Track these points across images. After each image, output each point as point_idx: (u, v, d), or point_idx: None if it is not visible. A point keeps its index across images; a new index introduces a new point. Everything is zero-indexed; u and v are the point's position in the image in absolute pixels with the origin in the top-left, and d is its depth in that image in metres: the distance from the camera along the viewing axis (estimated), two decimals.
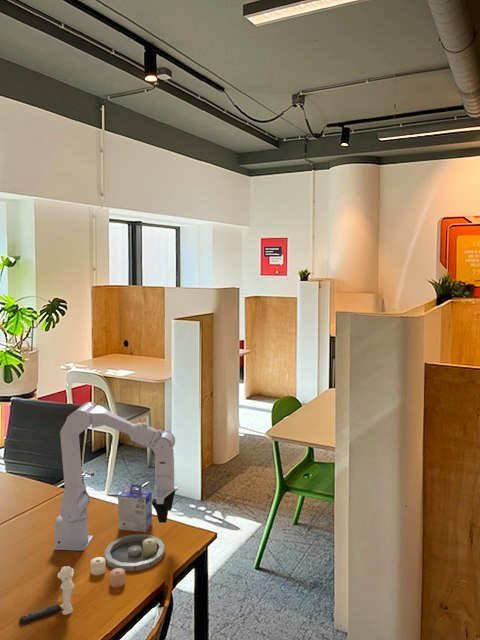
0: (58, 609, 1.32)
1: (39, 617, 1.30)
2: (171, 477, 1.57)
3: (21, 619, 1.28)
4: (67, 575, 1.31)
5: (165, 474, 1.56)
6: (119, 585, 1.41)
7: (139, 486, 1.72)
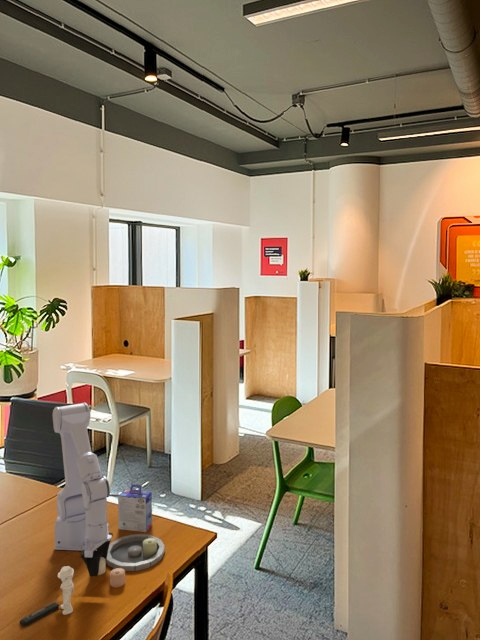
0: (57, 606, 1.33)
1: (40, 616, 1.30)
2: (103, 526, 1.45)
3: (23, 621, 1.27)
4: (67, 575, 1.31)
5: (87, 522, 1.44)
6: (119, 585, 1.41)
7: (139, 486, 1.72)
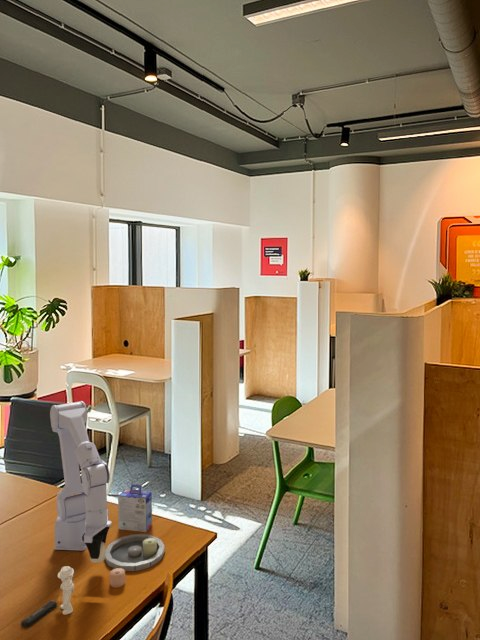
0: (55, 604, 1.34)
1: (41, 616, 1.30)
2: (103, 512, 1.44)
3: (26, 623, 1.27)
4: (67, 575, 1.31)
5: (87, 508, 1.43)
6: (119, 585, 1.41)
7: (139, 486, 1.72)
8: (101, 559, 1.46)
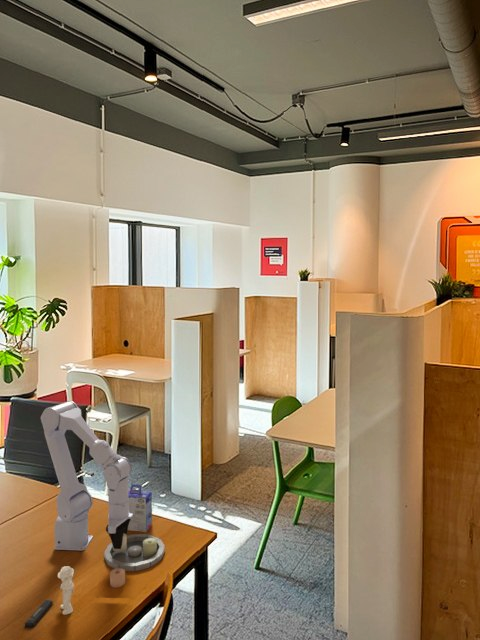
0: None
1: (42, 615, 1.30)
2: (125, 505, 1.53)
3: (30, 623, 1.27)
4: (67, 575, 1.31)
5: (114, 502, 1.52)
6: (119, 585, 1.41)
7: (139, 486, 1.72)
8: (123, 549, 1.55)
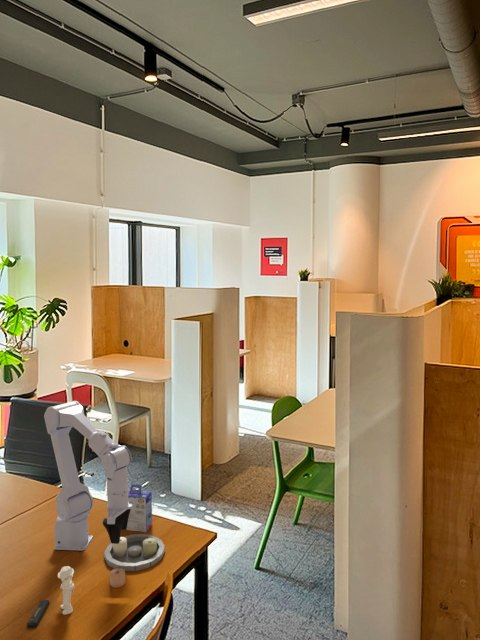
0: (48, 601, 1.35)
1: (42, 614, 1.31)
2: (124, 495, 1.48)
3: (33, 623, 1.27)
4: (67, 575, 1.31)
5: (111, 492, 1.46)
6: (119, 585, 1.41)
7: (139, 486, 1.72)
8: (124, 553, 1.55)
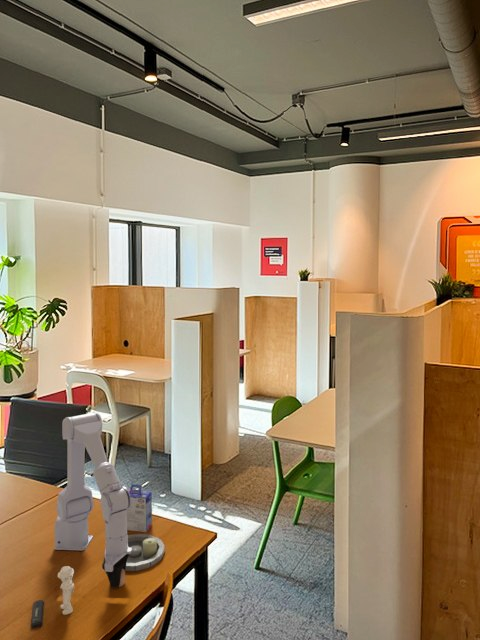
0: (43, 601, 1.35)
1: (42, 613, 1.31)
2: (123, 539, 1.39)
3: (38, 622, 1.27)
4: (67, 575, 1.31)
5: (108, 535, 1.38)
6: (119, 585, 1.41)
7: (139, 486, 1.72)
8: None
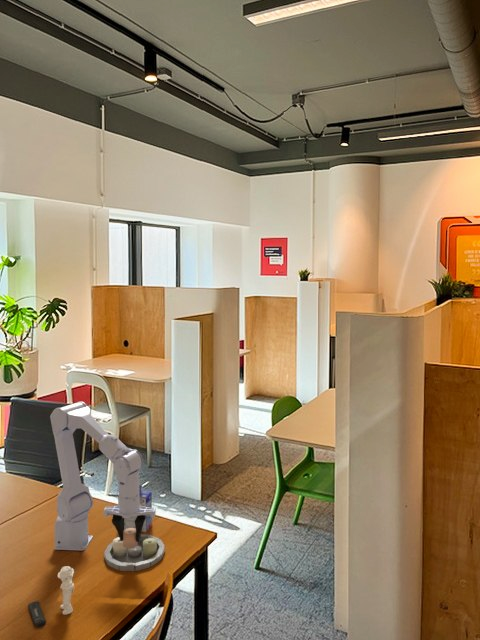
0: (38, 602, 1.35)
1: (42, 613, 1.31)
2: (121, 500, 1.47)
3: (42, 621, 1.27)
4: (67, 575, 1.31)
5: (124, 496, 1.47)
6: (123, 541, 1.50)
7: (139, 486, 1.72)
8: (123, 553, 1.55)
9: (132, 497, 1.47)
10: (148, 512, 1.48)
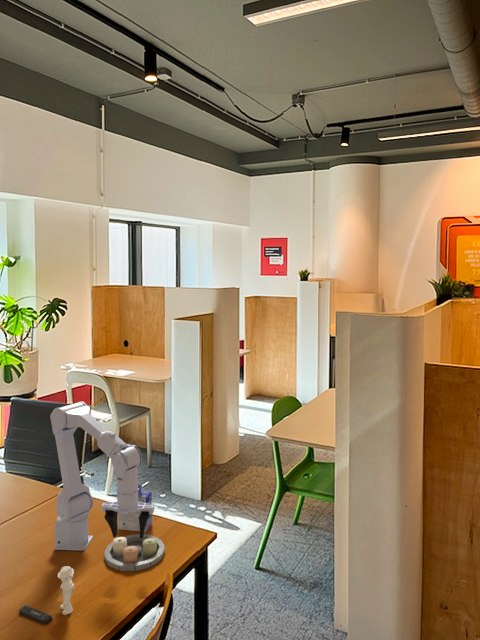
0: None
1: None
2: (119, 496, 1.45)
3: (50, 616, 1.29)
4: (67, 575, 1.31)
5: (122, 492, 1.45)
6: None
7: (139, 486, 1.72)
8: None
9: (130, 493, 1.45)
10: (147, 508, 1.47)
